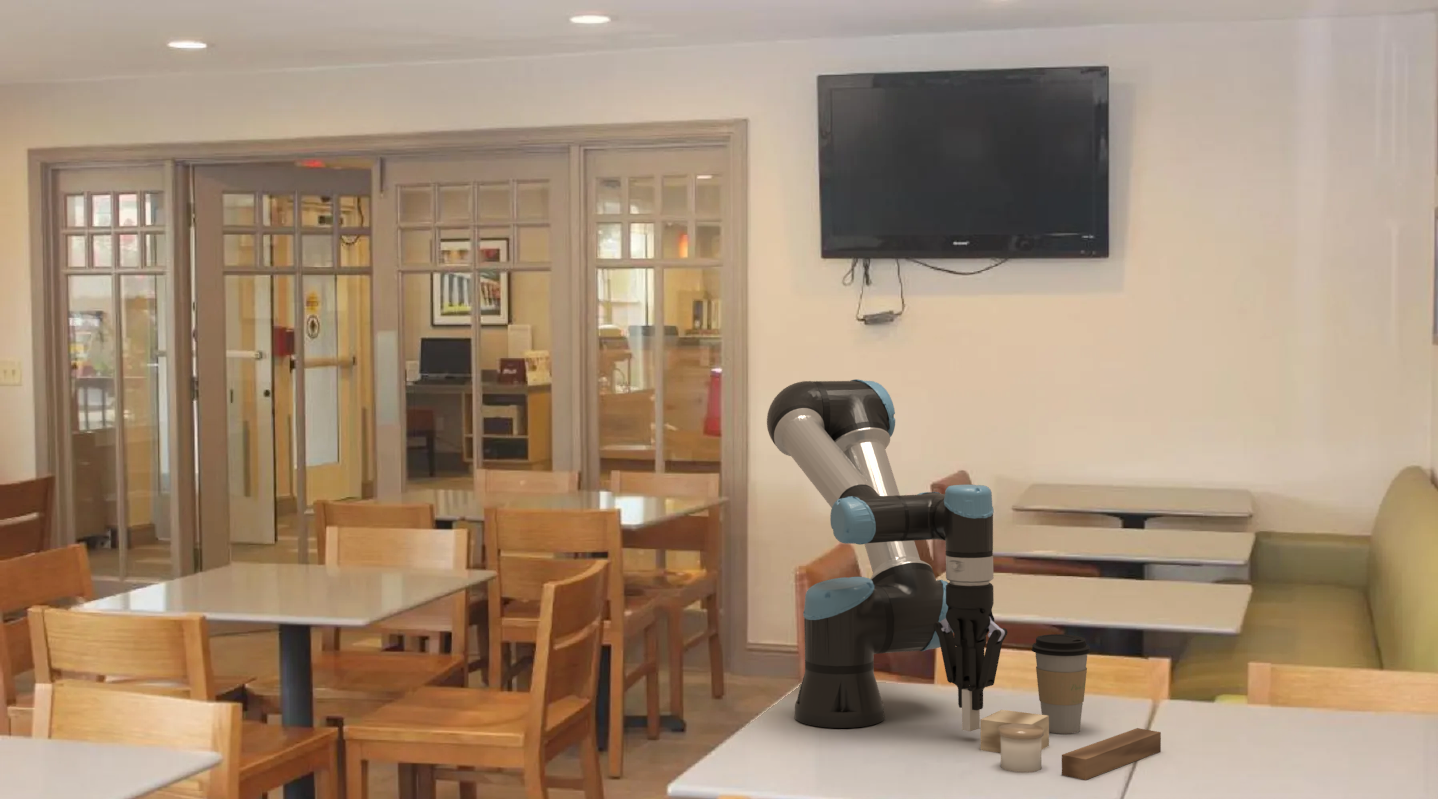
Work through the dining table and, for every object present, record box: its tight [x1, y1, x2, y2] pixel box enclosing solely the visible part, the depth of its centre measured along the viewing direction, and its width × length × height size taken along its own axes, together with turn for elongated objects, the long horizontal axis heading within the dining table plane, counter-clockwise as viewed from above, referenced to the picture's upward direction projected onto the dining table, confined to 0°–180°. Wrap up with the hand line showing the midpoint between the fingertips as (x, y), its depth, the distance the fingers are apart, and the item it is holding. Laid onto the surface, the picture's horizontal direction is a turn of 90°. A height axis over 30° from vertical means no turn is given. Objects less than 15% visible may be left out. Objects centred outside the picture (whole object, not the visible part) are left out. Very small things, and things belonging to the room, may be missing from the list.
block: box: [980, 709, 1050, 754], centre depth 253 cm, size 8×8×5 cm
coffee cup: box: [1031, 633, 1091, 735], centre depth 264 cm, size 9×9×15 cm
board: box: [1061, 727, 1162, 781], centre depth 243 cm, size 4×22×3 cm, turn 136°
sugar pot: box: [999, 723, 1044, 773], centre depth 242 cm, size 7×7×6 cm
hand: (970, 729), depth 258 cm, fingers closed
